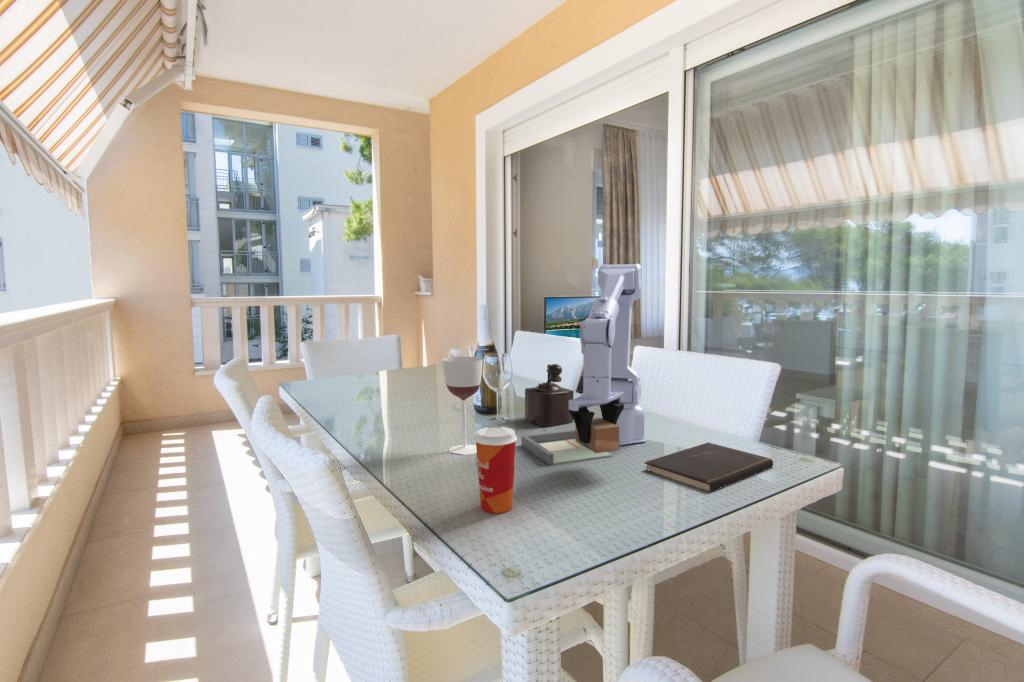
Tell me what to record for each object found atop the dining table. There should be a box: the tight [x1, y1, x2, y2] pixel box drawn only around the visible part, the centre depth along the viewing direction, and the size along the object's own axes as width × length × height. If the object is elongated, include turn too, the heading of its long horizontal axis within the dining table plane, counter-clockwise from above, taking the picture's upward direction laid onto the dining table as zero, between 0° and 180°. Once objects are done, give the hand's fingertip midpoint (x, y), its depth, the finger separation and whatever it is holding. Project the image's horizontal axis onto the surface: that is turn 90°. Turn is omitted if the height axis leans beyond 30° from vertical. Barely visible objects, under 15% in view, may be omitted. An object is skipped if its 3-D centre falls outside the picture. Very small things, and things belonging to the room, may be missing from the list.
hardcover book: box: [644, 442, 774, 493], centre depth 119 cm, size 16×23×2 cm
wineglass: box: [442, 356, 483, 456], centre depth 132 cm, size 9×10×22 cm
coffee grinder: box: [524, 363, 574, 428], centre depth 156 cm, size 16×11×18 cm
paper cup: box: [473, 426, 518, 515], centre depth 99 cm, size 8×8×14 cm
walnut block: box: [574, 415, 620, 453], centre depth 117 cm, size 9×5×5 cm, turn 21°
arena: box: [521, 428, 613, 466], centre depth 132 cm, size 16×16×2 cm
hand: (596, 438), depth 117 cm, fingers closed on walnut block, 7 cm apart
